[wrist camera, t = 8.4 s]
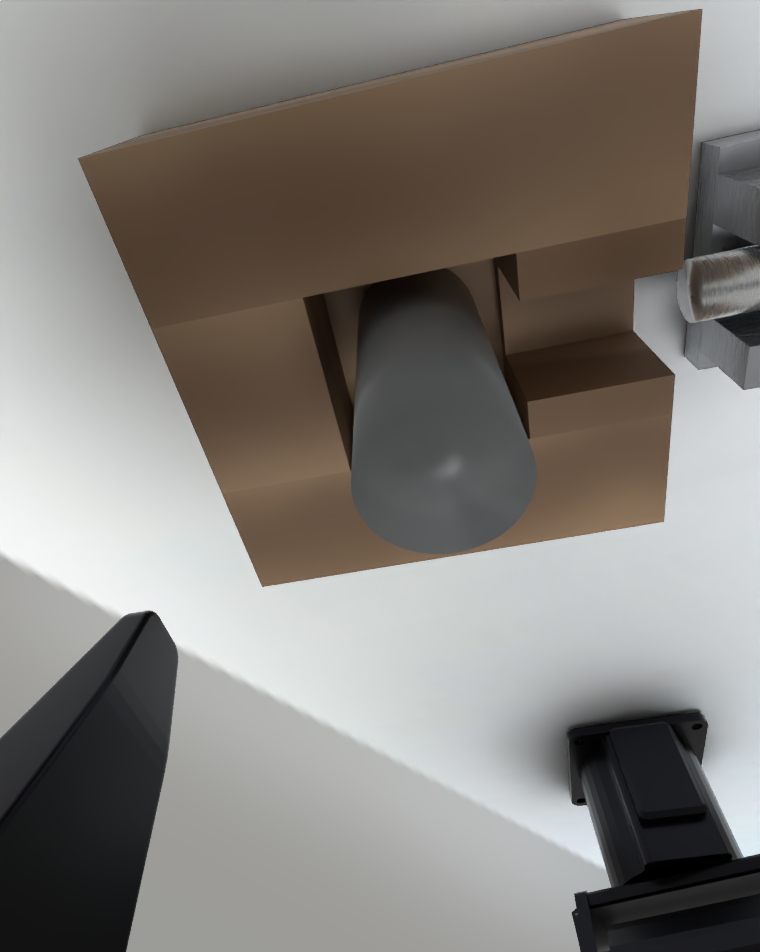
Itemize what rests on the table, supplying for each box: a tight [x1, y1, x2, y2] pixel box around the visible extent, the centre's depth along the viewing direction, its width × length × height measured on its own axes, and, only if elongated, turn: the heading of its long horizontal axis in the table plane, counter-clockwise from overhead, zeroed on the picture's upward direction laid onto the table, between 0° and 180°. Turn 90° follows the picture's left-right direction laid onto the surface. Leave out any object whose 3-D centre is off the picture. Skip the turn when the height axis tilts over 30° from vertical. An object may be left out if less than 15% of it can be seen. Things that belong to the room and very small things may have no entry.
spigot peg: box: [351, 268, 537, 554], centre depth 15 cm, size 3×3×8 cm
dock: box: [78, 9, 702, 587], centre depth 17 cm, size 12×12×4 cm
